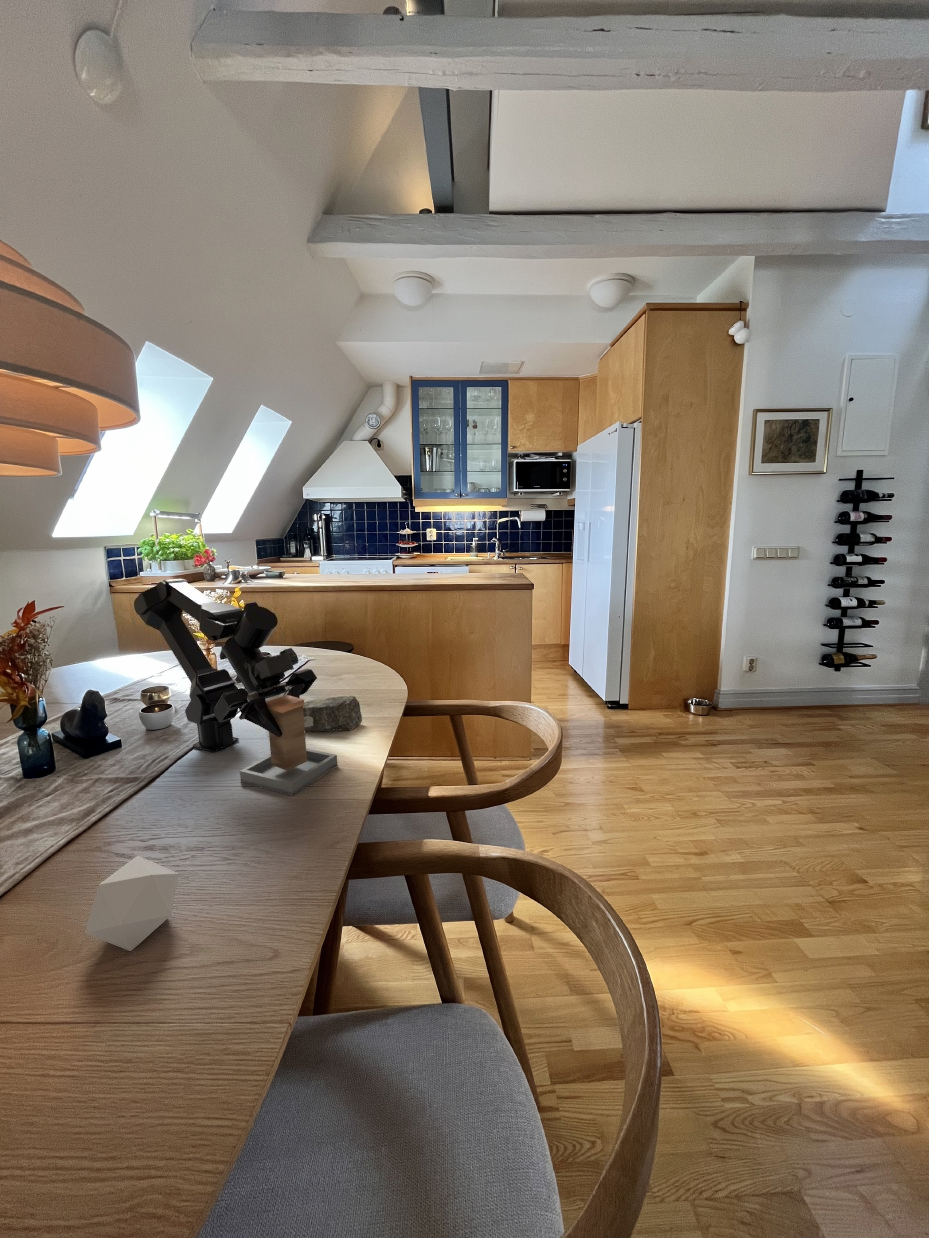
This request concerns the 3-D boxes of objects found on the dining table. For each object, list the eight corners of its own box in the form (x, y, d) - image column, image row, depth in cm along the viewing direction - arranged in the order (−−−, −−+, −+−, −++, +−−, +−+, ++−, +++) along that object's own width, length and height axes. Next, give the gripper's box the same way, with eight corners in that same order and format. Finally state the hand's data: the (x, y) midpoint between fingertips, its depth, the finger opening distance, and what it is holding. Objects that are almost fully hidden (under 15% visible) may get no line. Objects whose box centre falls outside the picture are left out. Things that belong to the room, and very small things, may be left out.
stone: (307, 756, 112) (283, 715, 111) (313, 747, 119) (291, 708, 119) (366, 724, 113) (343, 682, 112) (368, 717, 120) (347, 678, 120)
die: (143, 902, 64) (77, 870, 59) (202, 867, 64) (141, 832, 59) (127, 972, 58) (50, 943, 52) (193, 933, 57) (123, 901, 52)
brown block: (270, 764, 94) (264, 702, 92) (291, 755, 98) (287, 694, 96) (286, 771, 92) (281, 707, 90) (308, 761, 96) (304, 699, 94)
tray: (240, 782, 93) (239, 770, 92) (288, 754, 103) (288, 744, 103) (292, 795, 88) (291, 783, 87) (337, 765, 98) (336, 754, 98)
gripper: (216, 647, 85) (263, 724, 81) (307, 628, 101) (350, 692, 97) (195, 685, 91) (238, 759, 87) (284, 661, 106) (324, 723, 102)
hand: (291, 731), depth 93 cm, fingers closed on brown block, 4 cm apart
